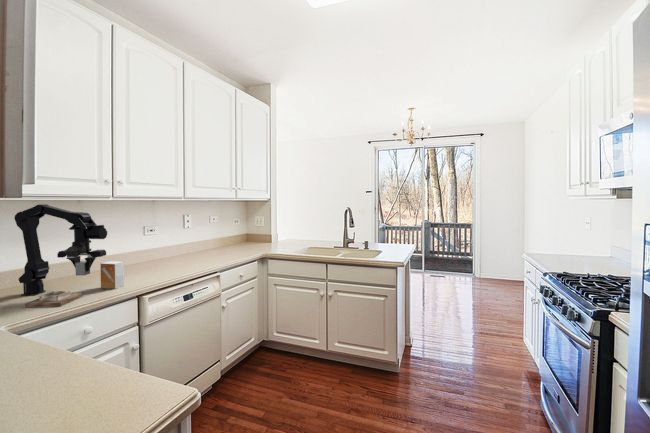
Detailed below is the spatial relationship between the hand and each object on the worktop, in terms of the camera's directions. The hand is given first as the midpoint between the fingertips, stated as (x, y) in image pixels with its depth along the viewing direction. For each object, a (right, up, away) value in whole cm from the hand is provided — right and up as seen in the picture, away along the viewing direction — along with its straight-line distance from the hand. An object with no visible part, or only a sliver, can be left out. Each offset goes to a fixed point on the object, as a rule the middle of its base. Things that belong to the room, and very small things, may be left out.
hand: (82, 271), depth 150 cm
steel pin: (0, -2, 0) cm, 2 cm away
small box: (+6, -11, +12) cm, 17 cm away
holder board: (-4, -12, -11) cm, 16 cm away
